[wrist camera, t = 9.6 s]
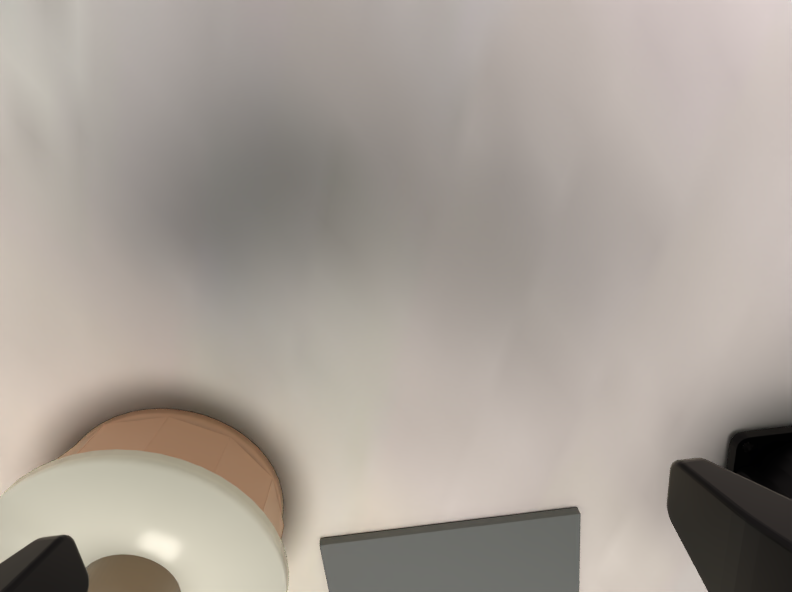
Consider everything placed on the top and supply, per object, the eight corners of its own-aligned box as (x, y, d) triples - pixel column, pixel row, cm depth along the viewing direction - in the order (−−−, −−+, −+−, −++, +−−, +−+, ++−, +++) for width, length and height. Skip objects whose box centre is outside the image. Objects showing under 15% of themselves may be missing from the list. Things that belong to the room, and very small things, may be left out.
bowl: (260, 395, 20) (237, 449, 17) (300, 570, 23) (287, 646, 20) (28, 423, 20) (-43, 483, 16) (99, 595, 23) (52, 675, 20)
